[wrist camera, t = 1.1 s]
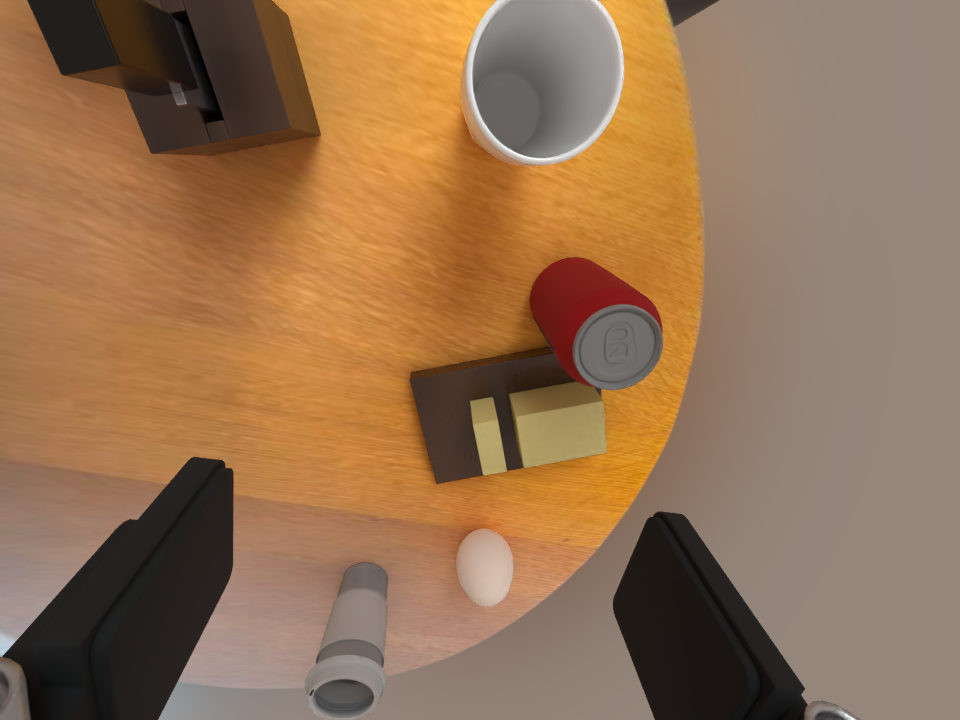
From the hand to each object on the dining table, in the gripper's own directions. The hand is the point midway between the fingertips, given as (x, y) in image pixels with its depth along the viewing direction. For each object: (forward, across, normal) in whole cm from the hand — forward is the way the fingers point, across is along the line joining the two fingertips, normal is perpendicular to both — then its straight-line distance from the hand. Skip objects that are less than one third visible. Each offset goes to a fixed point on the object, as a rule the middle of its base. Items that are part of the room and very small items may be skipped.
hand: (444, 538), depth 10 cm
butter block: (+27, -12, +10) cm, 31 cm away
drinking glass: (+29, -2, -12) cm, 31 cm away
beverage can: (+29, -11, 0) cm, 31 cm away
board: (+29, -8, +11) cm, 32 cm away
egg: (+29, -9, +26) cm, 40 cm away
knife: (+29, +15, -10) cm, 34 cm away
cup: (+29, +2, +34) cm, 45 cm away
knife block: (+29, +15, -10) cm, 34 cm away
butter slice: (+27, -6, +12) cm, 30 cm away
